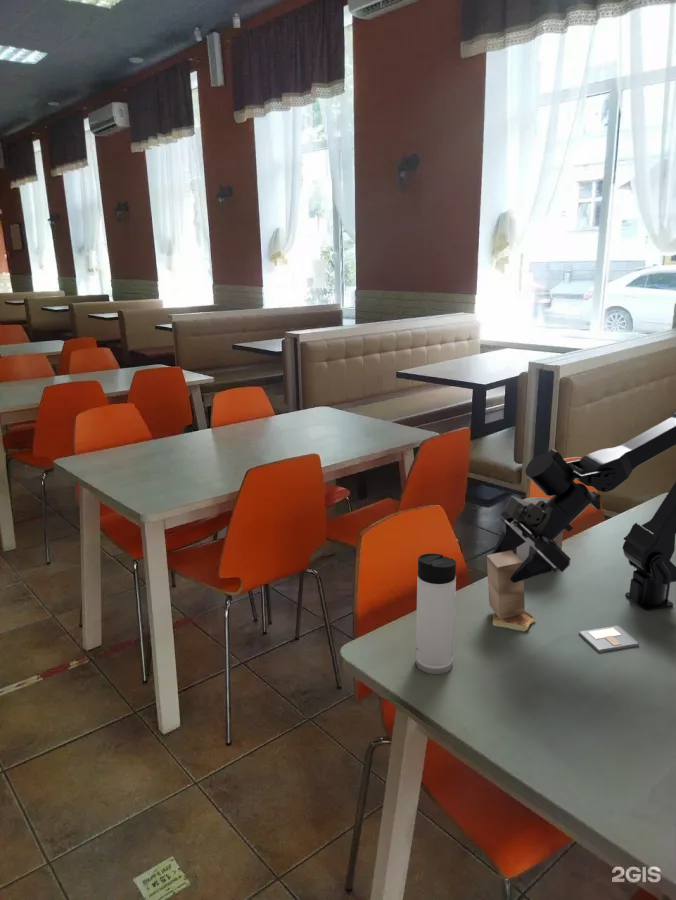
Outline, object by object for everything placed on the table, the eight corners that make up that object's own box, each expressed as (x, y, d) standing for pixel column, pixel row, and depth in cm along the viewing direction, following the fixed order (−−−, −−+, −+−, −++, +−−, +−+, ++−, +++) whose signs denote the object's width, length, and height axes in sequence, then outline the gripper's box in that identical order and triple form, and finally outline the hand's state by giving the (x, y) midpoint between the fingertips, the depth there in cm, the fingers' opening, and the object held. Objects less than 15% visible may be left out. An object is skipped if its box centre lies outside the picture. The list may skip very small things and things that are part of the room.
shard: (500, 601, 134) (500, 593, 134) (539, 608, 132) (540, 600, 131) (490, 628, 125) (491, 619, 124) (532, 636, 122) (533, 627, 121)
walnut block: (513, 600, 130) (511, 550, 126) (524, 613, 125) (523, 562, 122) (489, 605, 129) (486, 555, 126) (499, 619, 125) (497, 567, 121)
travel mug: (406, 665, 113) (408, 557, 107) (430, 649, 117) (433, 545, 112) (436, 680, 109) (439, 569, 103) (460, 663, 113) (464, 556, 107)
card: (617, 628, 123) (617, 625, 123) (638, 645, 117) (639, 642, 117) (578, 634, 121) (579, 631, 121) (598, 652, 116) (598, 649, 115)
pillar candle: (553, 551, 155) (557, 491, 150) (566, 570, 145) (570, 506, 141) (511, 552, 155) (514, 491, 151) (521, 571, 146) (524, 507, 141)
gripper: (512, 467, 129) (456, 524, 131) (559, 501, 112) (493, 566, 113) (547, 502, 133) (492, 557, 134) (598, 540, 115) (534, 603, 117)
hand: (501, 569), depth 124 cm, fingers open, 9 cm apart
